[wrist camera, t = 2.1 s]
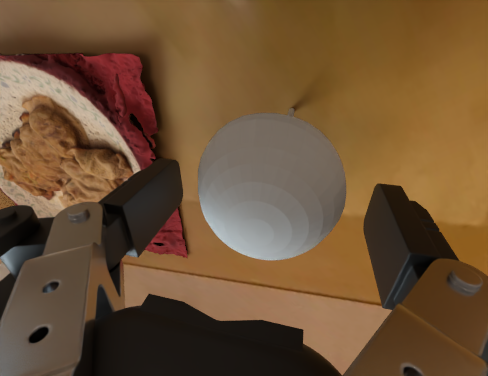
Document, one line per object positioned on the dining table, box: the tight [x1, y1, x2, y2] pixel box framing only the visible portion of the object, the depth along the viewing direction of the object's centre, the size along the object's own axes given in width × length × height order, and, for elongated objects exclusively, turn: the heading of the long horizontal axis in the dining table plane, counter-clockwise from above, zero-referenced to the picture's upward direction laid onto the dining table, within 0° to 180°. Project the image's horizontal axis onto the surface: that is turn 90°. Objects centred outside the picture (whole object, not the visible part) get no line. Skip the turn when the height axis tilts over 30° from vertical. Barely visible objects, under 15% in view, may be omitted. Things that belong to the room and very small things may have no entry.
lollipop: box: [198, 108, 346, 260], centre depth 14 cm, size 6×6×15 cm
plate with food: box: [0, 53, 187, 258], centre depth 28 cm, size 24×26×4 cm
